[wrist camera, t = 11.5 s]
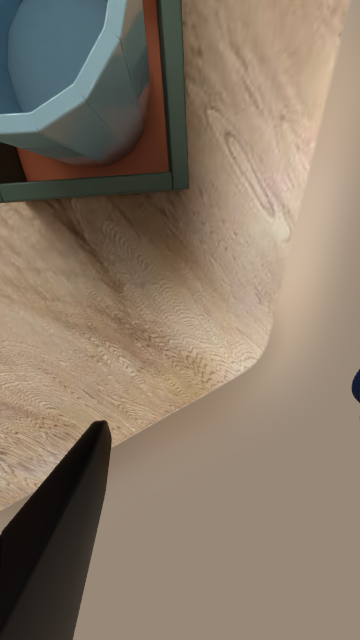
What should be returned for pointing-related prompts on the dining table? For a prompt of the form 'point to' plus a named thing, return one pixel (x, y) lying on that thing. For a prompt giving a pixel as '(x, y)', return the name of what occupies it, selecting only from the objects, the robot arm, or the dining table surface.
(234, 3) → the dining table surface
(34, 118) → the blue cup
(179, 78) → the cup rack
